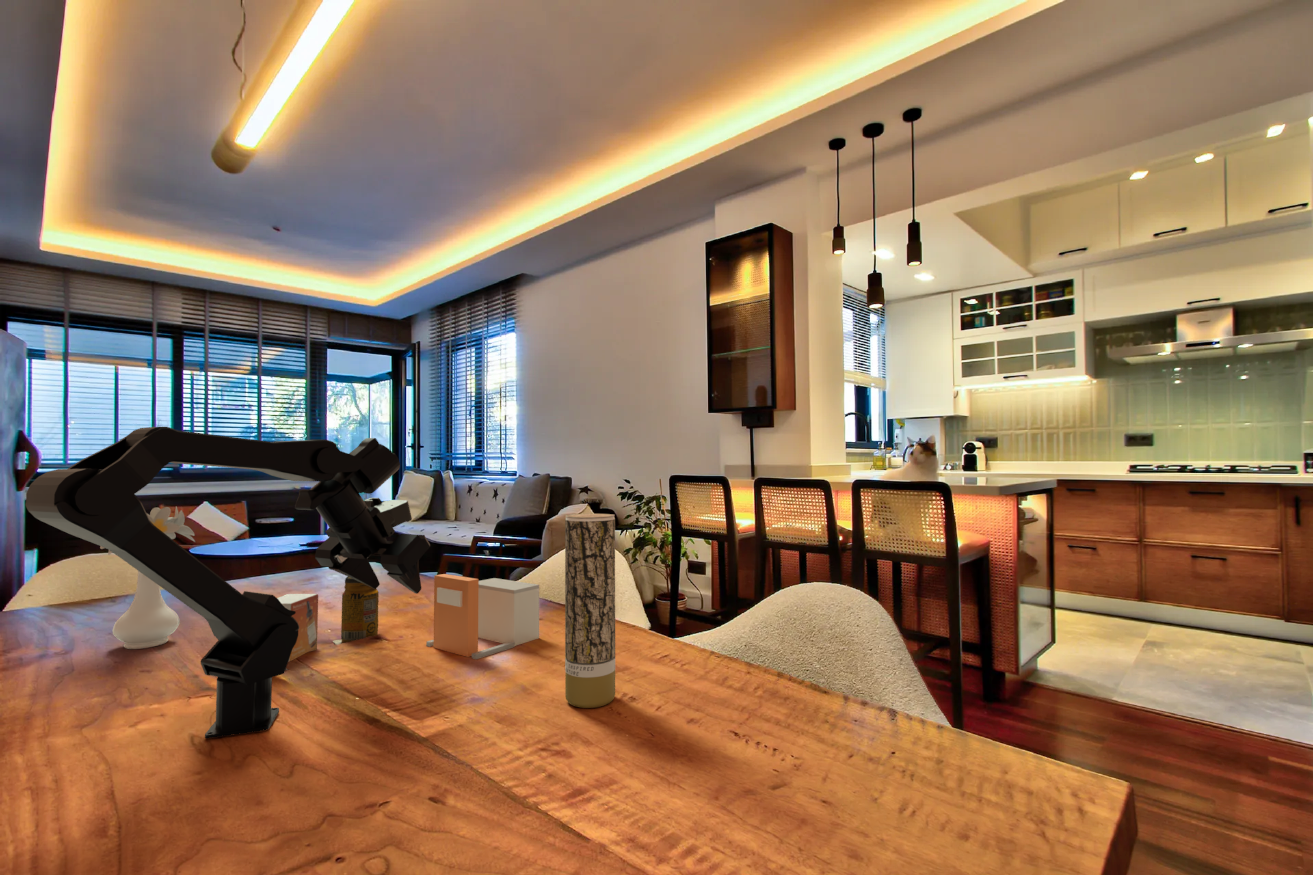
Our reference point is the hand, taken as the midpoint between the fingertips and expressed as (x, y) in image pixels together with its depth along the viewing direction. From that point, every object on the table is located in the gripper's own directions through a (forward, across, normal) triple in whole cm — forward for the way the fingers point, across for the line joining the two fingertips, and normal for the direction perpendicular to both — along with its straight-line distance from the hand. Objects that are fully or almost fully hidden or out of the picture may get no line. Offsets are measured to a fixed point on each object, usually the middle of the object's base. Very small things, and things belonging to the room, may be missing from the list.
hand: (397, 588), depth 97 cm
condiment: (+15, +18, +2) cm, 23 cm away
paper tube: (+11, -35, +6) cm, 37 cm away
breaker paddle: (+13, -5, +1) cm, 14 cm away
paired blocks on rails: (+17, -6, -1) cm, 18 cm away
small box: (+7, +19, +12) cm, 23 cm away
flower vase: (+4, +53, +15) cm, 56 cm away
